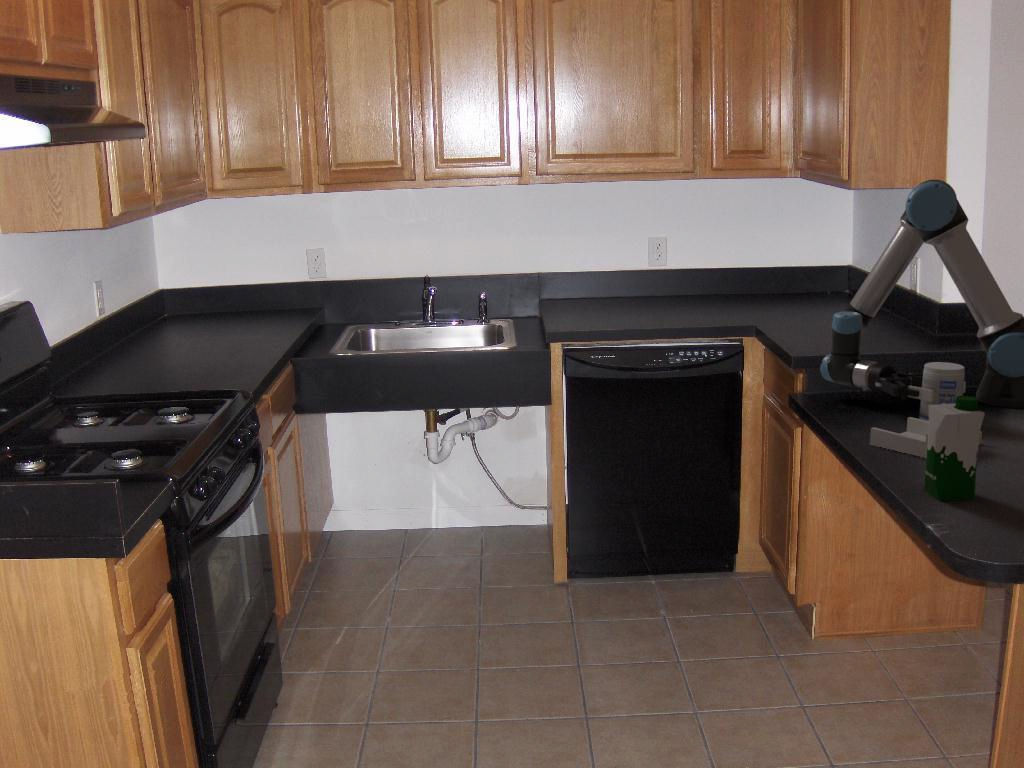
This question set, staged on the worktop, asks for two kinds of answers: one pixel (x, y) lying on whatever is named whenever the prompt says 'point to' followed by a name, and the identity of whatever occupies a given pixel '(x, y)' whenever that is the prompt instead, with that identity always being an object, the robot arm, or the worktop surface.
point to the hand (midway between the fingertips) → (948, 391)
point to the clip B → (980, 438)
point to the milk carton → (953, 449)
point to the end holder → (904, 438)
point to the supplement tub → (941, 384)
